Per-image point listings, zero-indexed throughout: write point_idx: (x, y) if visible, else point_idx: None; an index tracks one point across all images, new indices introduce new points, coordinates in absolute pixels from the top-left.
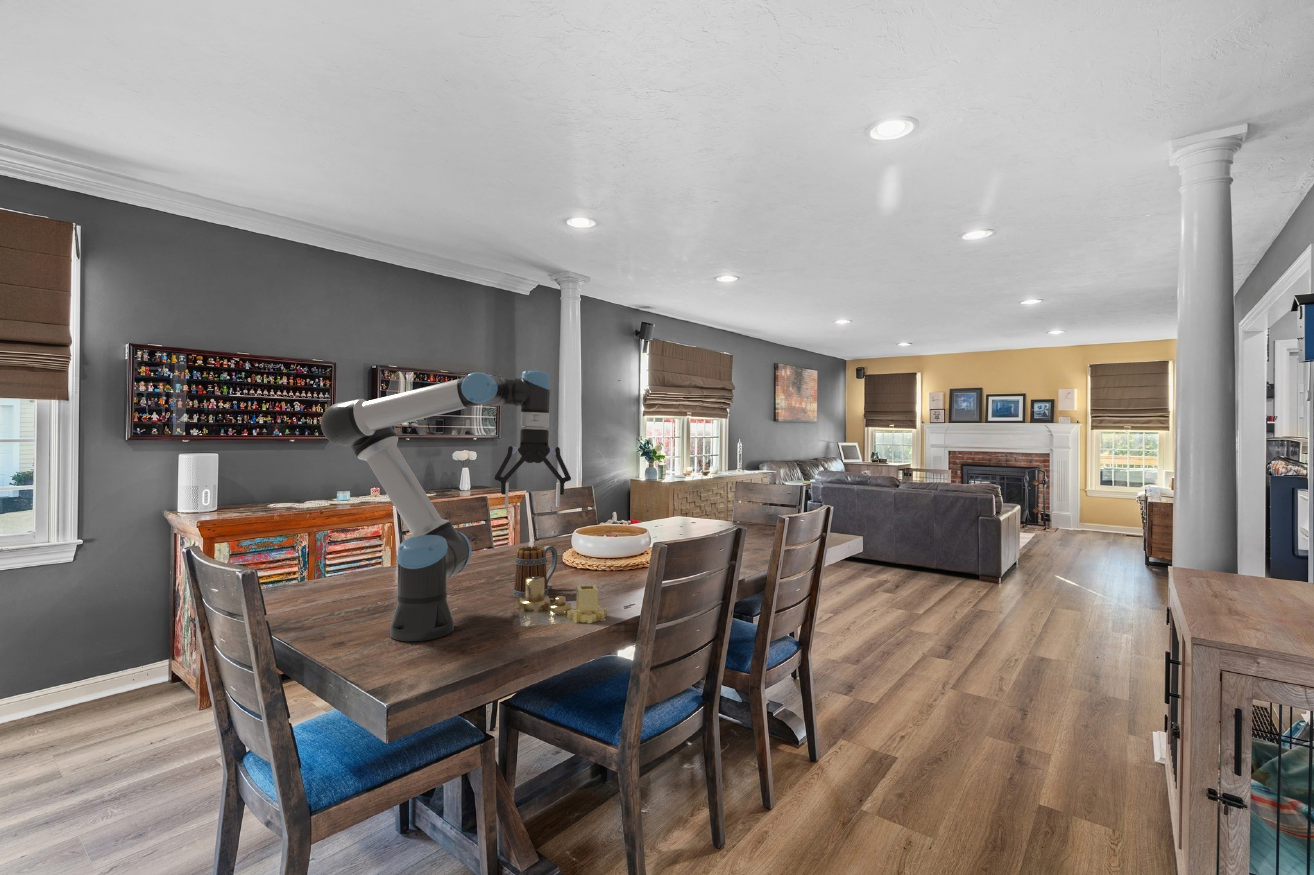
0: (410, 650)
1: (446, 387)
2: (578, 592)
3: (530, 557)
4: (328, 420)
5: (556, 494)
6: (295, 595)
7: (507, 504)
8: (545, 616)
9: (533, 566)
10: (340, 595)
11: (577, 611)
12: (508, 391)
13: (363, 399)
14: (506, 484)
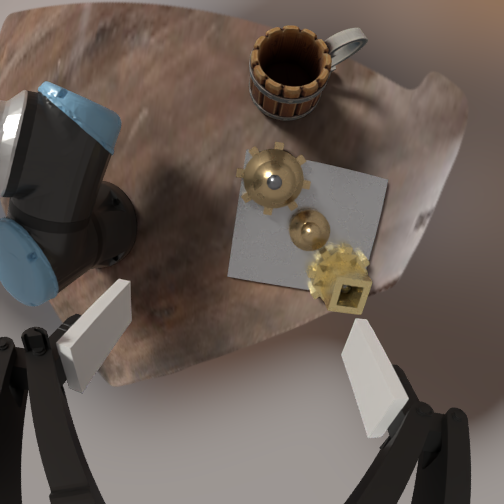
0: (97, 286)
1: None
2: (327, 306)
3: (282, 93)
4: None
5: (367, 365)
6: (5, 34)
7: (124, 327)
8: (277, 243)
9: (288, 103)
10: (33, 31)
11: (323, 281)
12: None
13: None
14: (76, 385)
